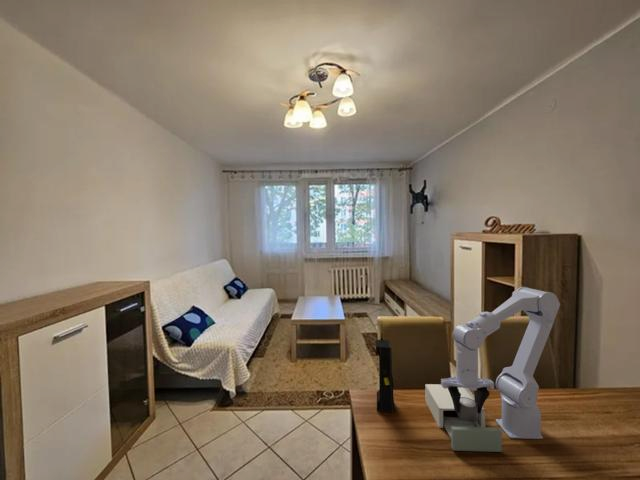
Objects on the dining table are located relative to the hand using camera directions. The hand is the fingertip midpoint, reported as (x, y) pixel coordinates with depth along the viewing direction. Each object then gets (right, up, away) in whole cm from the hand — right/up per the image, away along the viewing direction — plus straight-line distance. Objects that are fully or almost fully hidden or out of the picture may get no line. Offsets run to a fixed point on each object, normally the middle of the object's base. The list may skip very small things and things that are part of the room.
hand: (467, 411), depth 84 cm
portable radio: (-21, -8, +15) cm, 27 cm away
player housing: (+1, -8, +11) cm, 13 cm away
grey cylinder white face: (0, -1, 0) cm, 1 cm away
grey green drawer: (0, -7, +1) cm, 8 cm away
